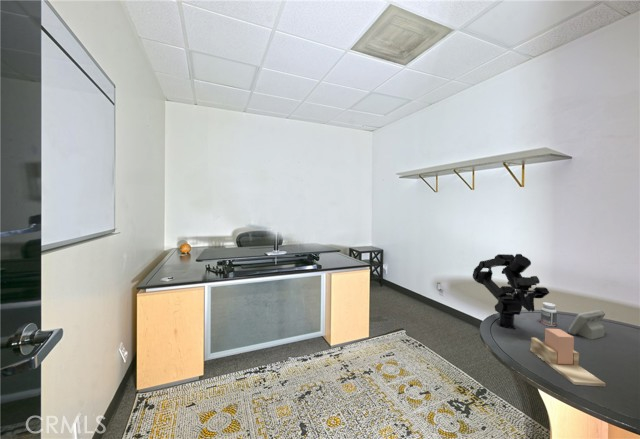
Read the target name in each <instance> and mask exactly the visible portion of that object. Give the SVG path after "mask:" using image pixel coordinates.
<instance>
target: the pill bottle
mask: <svg viewBox="0 0 640 439" xmlns="http://www.w3.org/2000/svg"><path fill="white" fill-rule="evenodd" d="M556 308H557V307H556V304H554V303H551V302H546V301H545V302H542V307H541V308H540V322H541V324H542V325H545V326H550V327H556V326H557V318H558V316H557V314H558V311H557V309H556Z"/></svg>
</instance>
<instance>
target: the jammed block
mask: <svg viewBox="0 0 640 439" xmlns="http://www.w3.org/2000/svg"><path fill="white" fill-rule="evenodd" d="M544 329H545V330H544V332H545V333H544V344H546V345H547V346H549V347H550V348H552V349H553V350H555V351H556V352H557V364H573V350H574V348H575V346H574V345H575V336H573V335H572V334H570V333H567V332H566V331H564V330H563V329H560V328H547V327H546V328H544ZM574 351H575V350H574Z"/></svg>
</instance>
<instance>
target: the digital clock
mask: <svg viewBox="0 0 640 439" xmlns="http://www.w3.org/2000/svg"><path fill="white" fill-rule="evenodd" d="M605 316H606V313H605V311H604V310H599V309H598V310H591V311H586V312H581V313H578V314H576V315H575V318H574V320H573V321H572V322H571V324H570V326H569V327H568V329H567V332H568V334H569V335H572V336H573V335H574V336H575V335H578V336H581V337H582V338H583V337H584V338H586V339H589V340H595V339H599V338H604V337H605V330H606V328H605V326H604V325H603V324H602V323H601V322H602V319H603V318H604V317H605Z"/></svg>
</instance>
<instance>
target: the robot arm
mask: <svg viewBox="0 0 640 439" xmlns="http://www.w3.org/2000/svg"><path fill="white" fill-rule="evenodd" d="M531 265H532V262H531V259H529V258H527V257H526V256H524V255H522V253H516V254H515V255H514V254H509V253H508V254H499V253H498V254H497V255H495V256H494V258H489V259H486V260H481V261H479V263H478V265H477V266H476V267H475V268H474V269H473V271H472V272H473V273H472V279H473V280H474V281H475V282H476V283H478V284H480V285H483V287H484V288H486V289H487V290H488V291H489V292H490V294H492V296H493V297H495V299H496V301H497V303H496V304H495V305H494V310H495V312H497V313H498V314H499V319H497V323H498V326H499V327H502V328H503V327H504V328H509V329H513V330H516V329H517V326H516V325H515V315H517V316H520V315H521V312H522V309H523V308H524V309H525V310H526V311H528V312H535V301H534V300H535V299H543V298H545V297H546V296H547V295H548V294H550V291H549V290H548V288H547V287H544V286H542V287H540V286H537V285H539V284H540V283H541V282H540V279H539V277H538V276H537V275H532V276H529V277H528V276H527V277H525V276H523V275H522V273H524V272H525V271H526V270H527V269H528V268H529V267H530V266H531ZM497 267H504V268H502V270H501V274H502V275H505V277H506V279H507V283H506V284H507V285H508V286H506V285H505V286H504V285H502V286H500V287H499V285H498V284H496V282H495V281H493V279H492V278H493V271H492V268H497ZM483 269H488V270H485V271H484V270H483ZM533 286H535V288H533V289H532V287H533Z"/></svg>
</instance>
